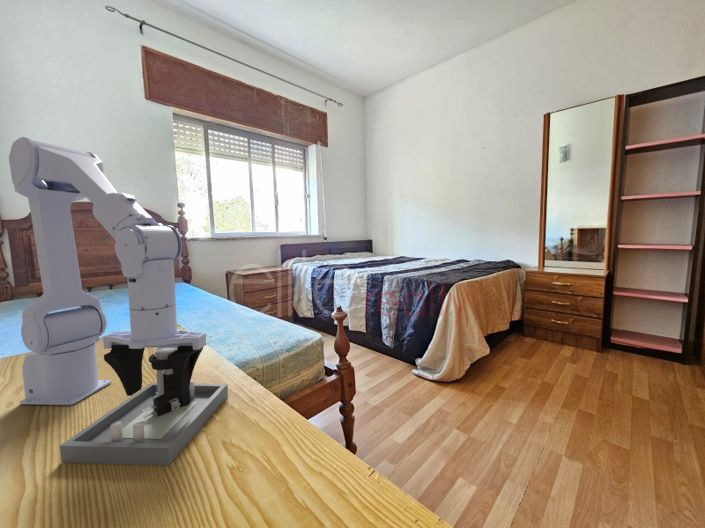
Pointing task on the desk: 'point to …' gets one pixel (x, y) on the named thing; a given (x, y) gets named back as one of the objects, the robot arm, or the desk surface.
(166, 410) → the push button
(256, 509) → the desk surface
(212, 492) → the desk surface
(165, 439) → the pin tray
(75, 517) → the desk surface
